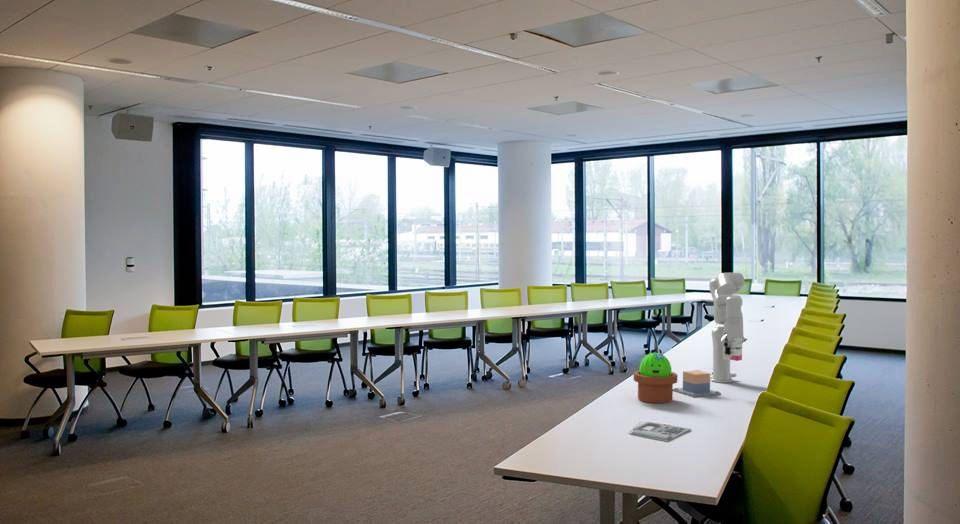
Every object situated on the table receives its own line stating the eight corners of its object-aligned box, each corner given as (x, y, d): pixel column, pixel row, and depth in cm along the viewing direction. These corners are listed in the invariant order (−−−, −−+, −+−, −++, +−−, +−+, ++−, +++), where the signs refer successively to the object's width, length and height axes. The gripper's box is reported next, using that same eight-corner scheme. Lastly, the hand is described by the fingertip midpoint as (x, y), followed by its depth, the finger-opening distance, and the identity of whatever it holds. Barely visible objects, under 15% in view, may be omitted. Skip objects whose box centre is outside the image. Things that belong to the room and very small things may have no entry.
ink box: (742, 360, 385) (742, 337, 385) (737, 361, 382) (737, 338, 382) (728, 357, 392) (728, 335, 391) (722, 358, 389) (723, 336, 388)
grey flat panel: (667, 437, 299) (623, 429, 311) (667, 444, 299) (623, 435, 311) (691, 425, 317) (648, 418, 329) (691, 431, 317) (648, 424, 329)
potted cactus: (633, 394, 390) (633, 347, 389) (675, 396, 386) (676, 349, 385) (633, 403, 369) (633, 354, 368) (678, 405, 364) (678, 355, 363)
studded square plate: (698, 388, 406) (699, 368, 406) (721, 394, 390) (721, 374, 389) (672, 390, 399) (672, 370, 399) (693, 397, 383) (693, 376, 382)
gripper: (741, 318, 393) (740, 351, 394) (715, 320, 386) (714, 353, 387) (751, 320, 386) (750, 354, 387) (725, 321, 379) (724, 356, 380)
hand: (732, 353), depth 387 cm, fingers closed on ink box, 6 cm apart
